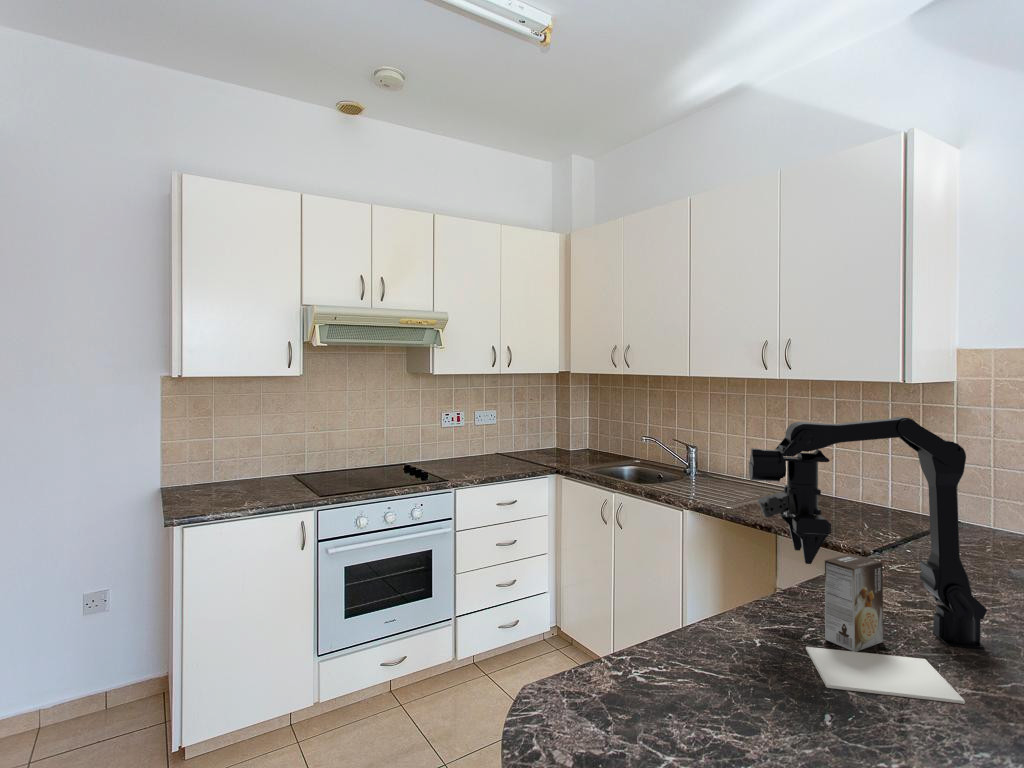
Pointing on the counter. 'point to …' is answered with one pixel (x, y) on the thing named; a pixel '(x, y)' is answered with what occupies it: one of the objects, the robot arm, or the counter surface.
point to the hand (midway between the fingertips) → (802, 556)
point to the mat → (882, 674)
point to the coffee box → (854, 601)
